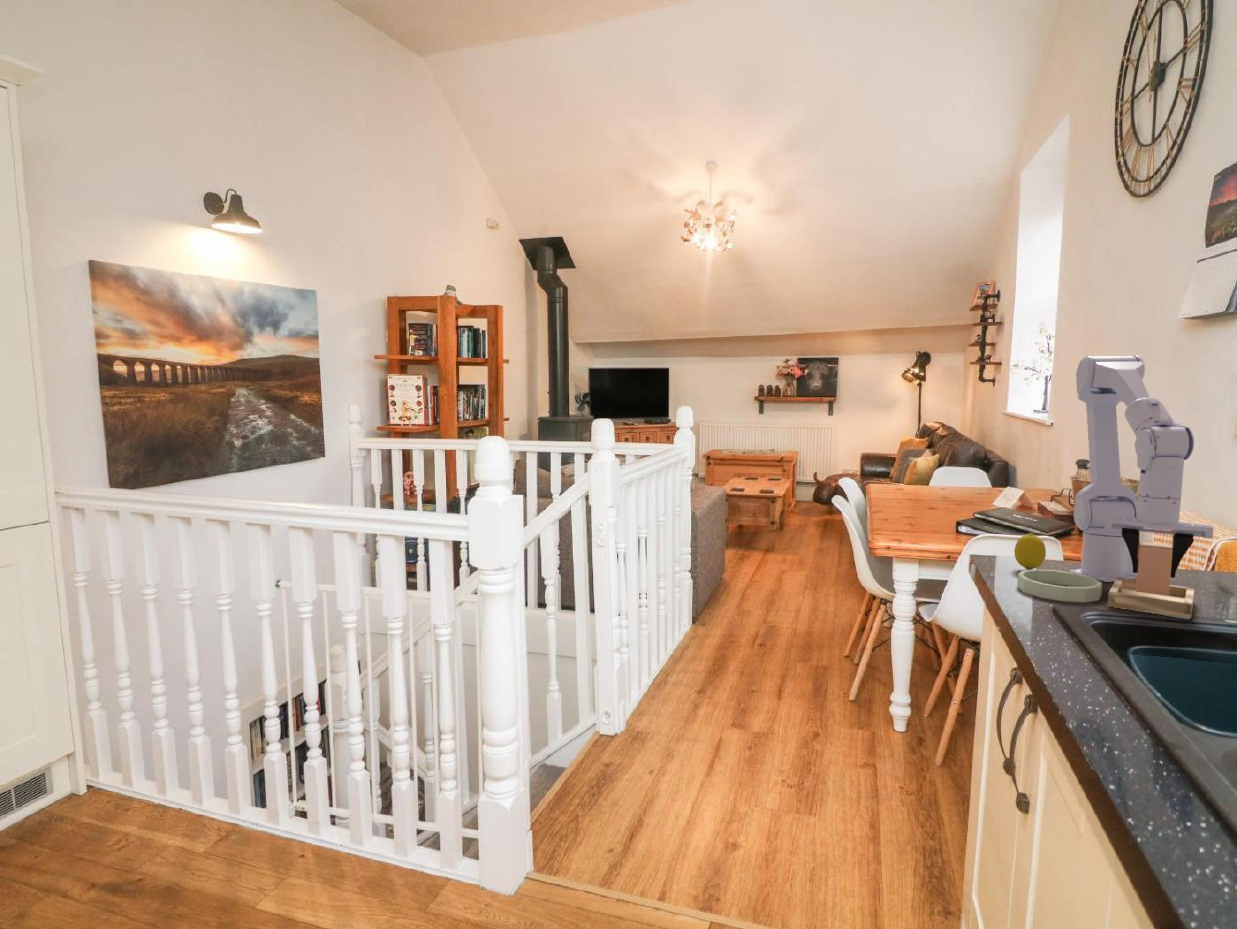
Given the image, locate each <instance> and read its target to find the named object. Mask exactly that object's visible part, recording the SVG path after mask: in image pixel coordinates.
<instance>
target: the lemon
mask: <svg viewBox="0 0 1237 929" xmlns="http://www.w3.org/2000/svg"><path fill="white" fill-rule="evenodd" d="M1045 545H1046V544H1045V543H1044V540H1043V539H1042V538H1041V537H1039V536H1037V535H1036V534H1034V533H1033V532H1029V533H1027V534H1025V535H1022V536H1021V537H1019V539H1018V540H1017V541H1016V543H1015V546H1014V557H1015V560H1016V562H1017V563H1018V565H1020V566H1021V567H1023V568H1024V569H1025V570H1034V569H1037V568H1039V567H1040V566H1042V565H1043V563H1044V561H1045V560H1046V554H1047V549H1046V546H1045Z"/></svg>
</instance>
